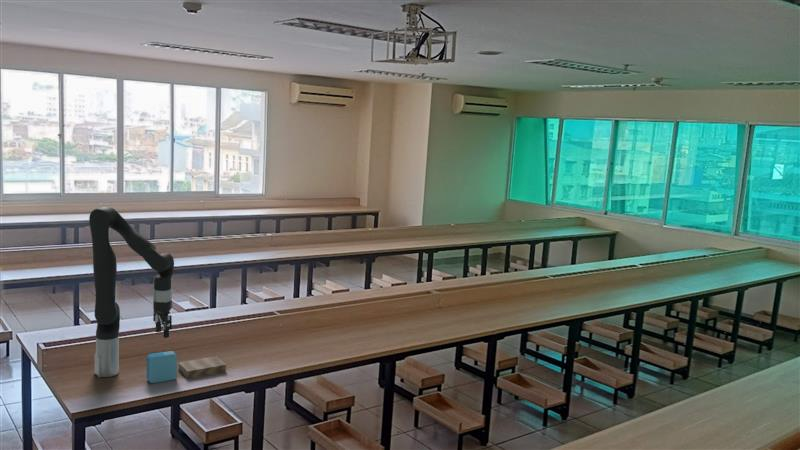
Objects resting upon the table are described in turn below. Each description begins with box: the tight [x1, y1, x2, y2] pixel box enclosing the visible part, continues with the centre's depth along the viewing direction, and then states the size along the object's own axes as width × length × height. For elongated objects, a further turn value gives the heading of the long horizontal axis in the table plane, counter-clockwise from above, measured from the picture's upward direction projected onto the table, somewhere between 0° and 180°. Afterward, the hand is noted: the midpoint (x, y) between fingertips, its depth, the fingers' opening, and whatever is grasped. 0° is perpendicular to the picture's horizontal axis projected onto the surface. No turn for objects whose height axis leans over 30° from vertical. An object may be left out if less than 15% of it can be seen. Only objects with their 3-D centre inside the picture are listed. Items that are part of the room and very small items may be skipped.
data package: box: [146, 350, 178, 384], centre depth 287 cm, size 12×4×12 cm, turn 124°
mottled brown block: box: [178, 356, 227, 380], centre depth 300 cm, size 18×12×4 cm, turn 127°
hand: (162, 334), depth 284 cm, fingers open, 8 cm apart
